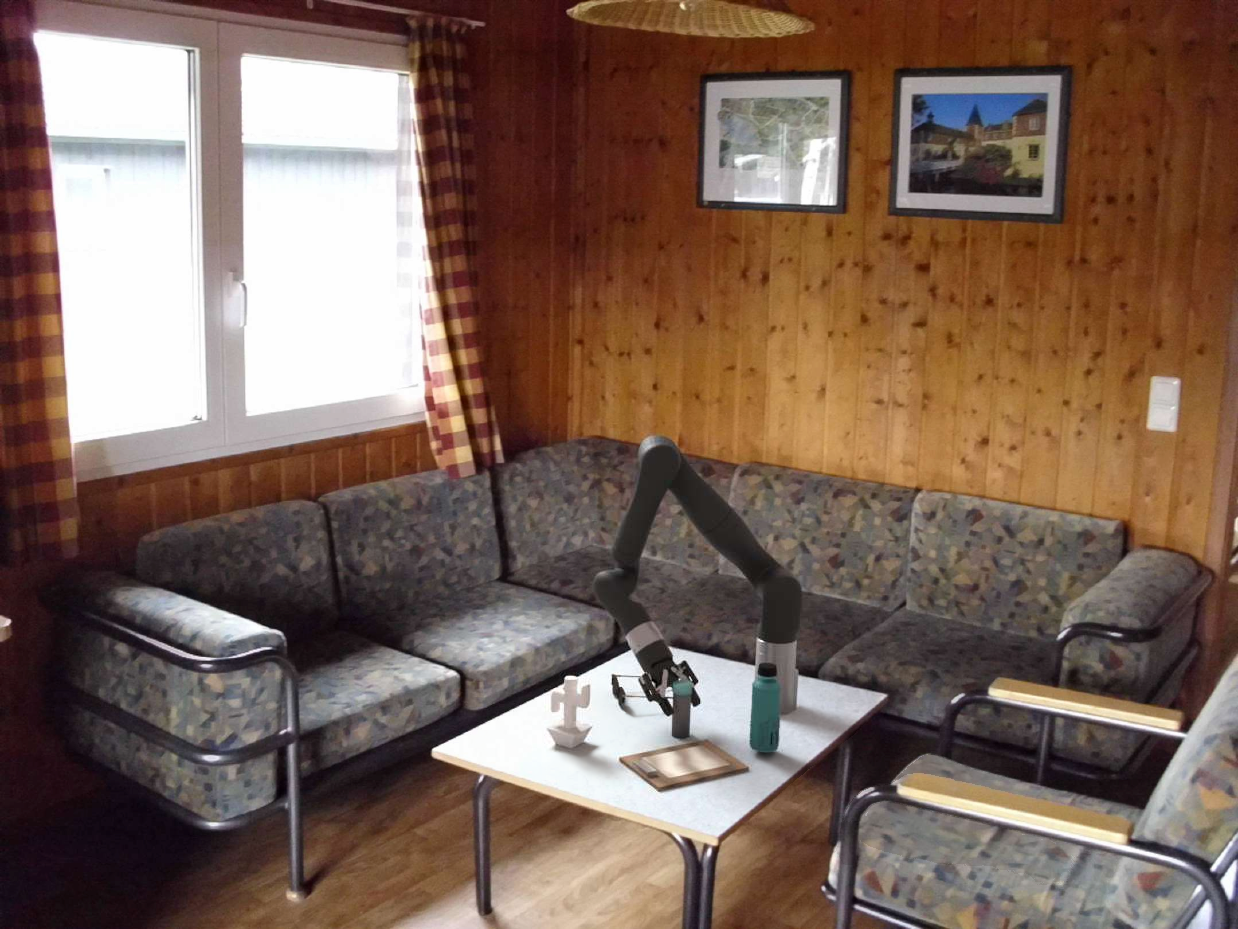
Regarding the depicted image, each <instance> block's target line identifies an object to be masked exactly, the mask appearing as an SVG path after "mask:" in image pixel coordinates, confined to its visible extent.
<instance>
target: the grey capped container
mask: <svg viewBox="0 0 1238 929" xmlns="http://www.w3.org/2000/svg"><path fill="white" fill-rule="evenodd" d="M691 694H692V683H691V682H689V681H685V680H681V679H679V680H678V681H675V682H673V689H672V697H673V699H672V708H673V709H674V713H673V714H672V715H671V736H672V737H673V738H675V739H679V740H680V739H681V740H683V739H688V738H690V734H691V732H690V731H691V709H692V707H691V706H692V704H691Z"/></svg>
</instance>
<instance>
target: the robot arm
mask: <svg viewBox="0 0 1238 929" xmlns="http://www.w3.org/2000/svg"><path fill="white" fill-rule="evenodd" d="M638 448H639V449H638V454H637V458H638V464H639V471H638V472H639V473H638V478H637V483H636V487H635V492H634V494H633V497H632V499H631V502H630V504H629V506H628V508H627V510H626V512H625V514H624V515H623V516H622V519H621V521H620V524H619V526H618V528H617V530H616V534H615V536H614V540H613V542H612V544H611V549H610V558H611V559H612V560H613V561H614V562H616V563H615V566H614V569H609V570H608V569H607V570H602V571H600V572H598V573H596V575H595V576H594V578H593V581H592V589H593V593H594V596H595V598H596V599H597V601H598V602H599V604H601V606H602V607H603V609H604V610H606V612H608V614H609V615H610V616H611V617H612V618H613V619H614V620H615V621H616V622H617V623H618V626H619V627H620V629H621V631H622V633H623V635H624V637H625V638H626V641H627V644H628V647H629V648H630V649H631V652H632V654H633V655H634V657H635V659H636V661H637V662H638V664H639V666H640V668H641V669H642V671H643V674H642V675H640V676H641V677H637V681H638V683H639V686H640V687H641V690H642V691H643V693H644V696H646V697H647V698H646V700H647V701H648V702H649V703H652V702H656V703H657V704H658V705H659V707H660V709H661V710H662V713H663V714H664V715H665V716H666V717H672V714H673V713H674V709H673V708H672V707H673V705H672V703H670V701H669V698H667V697H668V696H666V690H667V689H668V688H671V687H673V682H675V681H678V680H685V681H689V682H691V683H692V694H691V706H692V707H693V708H696V707H699V706H700V705H701V703H702V702H701V698H700V695H699V694H698V692H697V690H696V689H695V686H697V684H698V683H699V679H698V677H697V676H696V675H695V672H694V671H693V670H692V668H691V666H690V665H689V663H688V662H687V660H683V661H680V663H678V664H677V663H676V662H675V661H674V655H673V652H672V651H671V649H670V647H669V646H668V644H667V642H666V640H665V639H664V636H663V635H662V633H661V631H660V630H659V628H658V627H657V626H656V624H655V623H654V622H653V620H652V618H651V616H650V614H649V613H648V610H647V609H646V608H645V606H644V605H643V604H642V603H641V602H639V601H635V600H633V599H631V598H630V597H631V596H632V595H633V594H634V592H635V591H636V589H637V585H638V583H639V582H638V581H639V575H640V574H639V573H640V564H641V562H640V560H641V557H642V555H643V551H644V549H645V547H646V544H647V541H648V540H649V539H648V538H649V535H650V533H651V530H652V527H653V523H654V521H655V518H656V514H657V513H658V510H659V508H660V506H661V503H662V502H663V499H664V497H665V496H666V494H667V492H668V491H669V492H670V493H671V494H672V495H673V496H674V497H675V499H676V501H677V502H678V503H679V505H680V507H681V508H682V510H683V512H684V513H685V515H686V516H687V518H688V520H689V521H690V522H691V524H692V526H694V528H695V529H696V530H697V531H698V533H700V535H701V536H702V537H703V539H704V540H706V542H708V544H709V545H710V546H712V548H714V550H715V551H717V552H718V554H720V555H721V556H722V557H724V558H725V559H727V560H728V561H729V562H731V564H733V565H734V566H735V567H736V568H737V569H739V571H740V572H741V573H742V574H743V575H744V577H745V578H746V580H747V581H748V583H749V584H750V585H751V586H752V588H753V589H754V590H755V593H756V594H757V596H758V597H759V598H760V600H761V602H762V603H761V604H762V605H761V617H760V618H761V619H760V622H759V623H758V624H757V628H756V644H755V645H756V648H755V650H756V651H755V662H754V663H755V664H754V665H755V667H754V668H755V669H754V681H755V680H756V679H758V678H759V677H762V676H760V675H758V666H759V664H760V663H765V662H767V663H773V664H775V665H776V666H777V676H775V677H772V678H775V679H776V680H777V681H778V682H779V683H780V684H781V707H780V708H781V709H780V710H781V711H780V716H781V715H787V714H790V713H791V712H792V711H793V710H796V709H797V705H798V704H797V702H798V689H799V688H798V687H799V686H798V685H799V682H798V681H799V669H797V668H796V660H797V659H796V657H797V641H798V632H799V629H800V627H801V620H802V619H801V618H802V608H803V589H802V586H801V583H800V582H799V581H798V579H797V578H796V576H794V575H793V573H791V572H790V571H789V570H788V569H787V568H786V567H784V566H783V565H782V564H780V563H779V561H777V560H776V559H775V558H774V557H773V556H772V555H770V554H769V552H767V551H766V550H765V549H764V548H763V547H762V545H761V544H760V543H759V541H758V540H757V538H756V536H755V534H754V533H753V532H752V530H751V529H750V528H749V526H748V524H747V523H745V521H744V520H743V518H742V517H741V516H740V515H739V514H738V513H737V512H736V511H735V509H734V508H733V507H732V506H731V505H730V504H729V503H728V502H727V501H726V500H725V499H724V498H723V497H722V496H721V495H720V494H719V493H718V492H717V491H716V490H715V489H714V488H713V487H712V486H711V485H710V484H709V483H708V482H707V481H706V480H704V479H703V478H702V477H701V476H700V475H699V474H698V472H696V470H695V469H694V468H693V467H692V465H691V464H690V463H689V462H688V460H687V459H686V457H685V456H684V454H683V453H682V452H681V450H680V448H679V447H678V445H677V444H676V442H674V440H672V439H671V438H669V437H667V436H665V435H660V434H654V435H653V434H652V435H650V436H648V437H646V438H645V439H644V440H643V441H641V444H640V446H639V447H638ZM665 697H666V698H665Z"/></svg>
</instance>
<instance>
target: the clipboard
mask: <svg viewBox="0 0 1238 929" xmlns="http://www.w3.org/2000/svg"><path fill="white" fill-rule="evenodd" d="M618 761H619V762H620V763H621V764H622V765H624V766H625V767H627V768H628V769H629V770H630V771H632V772H633V773H634V774H636V775H637V776H638V777H639V778H641V779H642V780H643V781H645V782H646V783H647V784H648V785H650V786H651V787H653V788H654V789H655V790H657V791H658V792H660V791H664V790H669V789H673V788H678V787H682V786H683V787H684V786H687V785H691V784H696V783H700V782H705V781H710V780H713V779H718V778H722V777H726V776H732V775H735V774H739V773H744V772H749V771H750V766H749V765H747V764H746V763H744V762H742V761H741V760H739V759H738V758H737V757H736V756H733V755H732V754H730V753H728V752H727V751H726V750H725V749H723V748H721V747H720V746H718V745H717V744H715V743H714V742H712V741H711V740H709V739H708V738H705V739H701V740H696V741H692V742H687V743H686V742H685V743H681V744H676V745H671V746H667V747H662V748H658V749H652V750H649V751H642V752H639V753H634V754H633V753H632V754H629V755H623V756H620V757H618Z"/></svg>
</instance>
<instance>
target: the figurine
mask: <svg viewBox="0 0 1238 929" xmlns="http://www.w3.org/2000/svg"><path fill="white" fill-rule="evenodd" d="M563 680H564V683H563V684H564V685H563V687H562V688H559V687H557V688H556V687H555V688H553V689H552V691H551V694H550V711H551V713H558V712H559V711H560V708H561V707H560V706H561V704H562V703H563V719H561V720H558V721H557V722H555V723H554V724H552V725H549V726H548V727H546V730H547V731H548V733H549V735H550V737H551V738H552V740H553V742H554V743H555V745H559V746H563V747H566V748H569V749H573V748H576V747H577V746H579V745H580V744H582V743H584V742H585V740H586V738H587V736H588V735H589V733H590V731H591V729H593V726H594V725H592V724H589V723H586V722H582V721H578V720H577V709H578V708H581V709H586V708H588V707H589V706H590V702H591V685H590V684H591V683H589V682H585V683H582V685H581V687H580V689H581V690H580V693H578V683H579V682H578V681H579V678H578V677H577V676H576V675H575V676H574V675H566V676H565V677H564V679H563Z"/></svg>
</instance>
